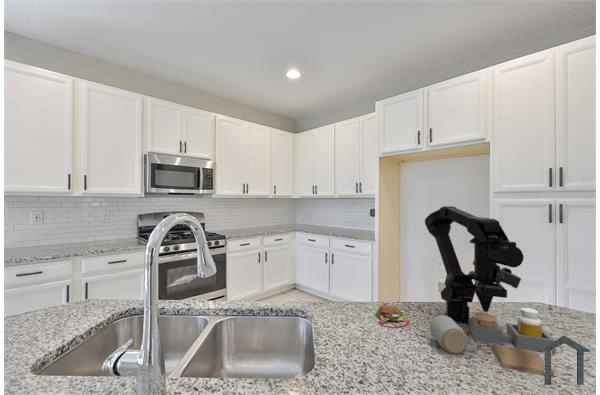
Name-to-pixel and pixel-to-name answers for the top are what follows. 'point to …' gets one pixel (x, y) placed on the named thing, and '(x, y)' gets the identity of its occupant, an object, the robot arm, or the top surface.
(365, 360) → the top surface
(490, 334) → the divided tray
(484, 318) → the tan stopper
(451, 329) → the grey cylindrical canister
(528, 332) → the supplement bottle
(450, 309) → the robot arm
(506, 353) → the walnut pad
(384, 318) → the hamburger
